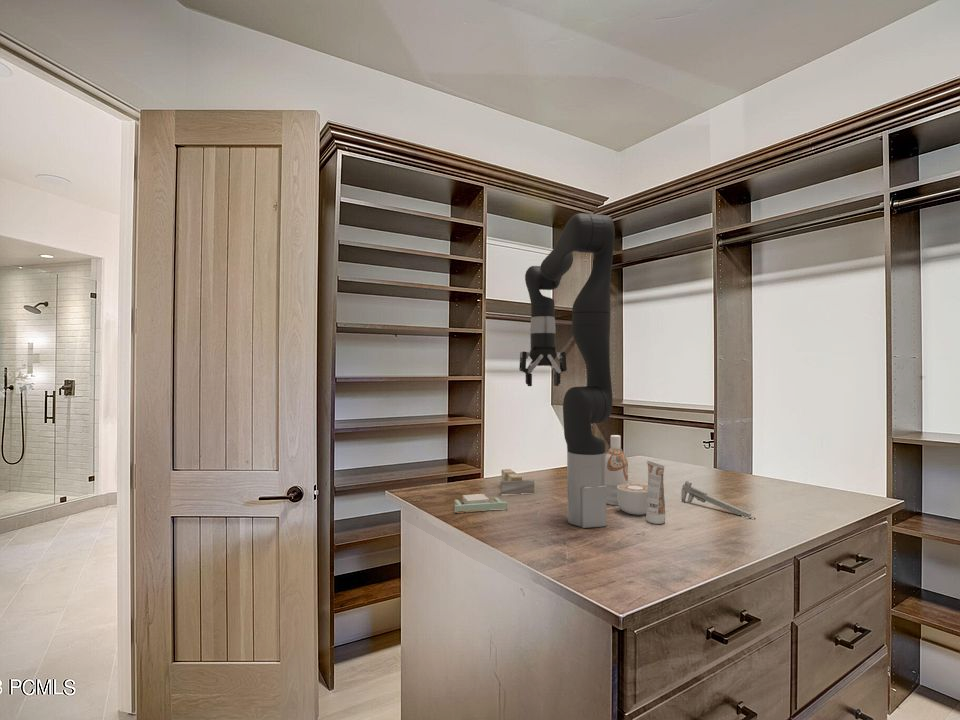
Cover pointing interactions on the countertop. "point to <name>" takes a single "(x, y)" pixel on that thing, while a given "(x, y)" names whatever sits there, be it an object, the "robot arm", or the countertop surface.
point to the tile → (475, 499)
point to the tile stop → (480, 505)
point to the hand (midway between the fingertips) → (543, 386)
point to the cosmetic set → (634, 486)
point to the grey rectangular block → (515, 483)
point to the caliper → (709, 499)
